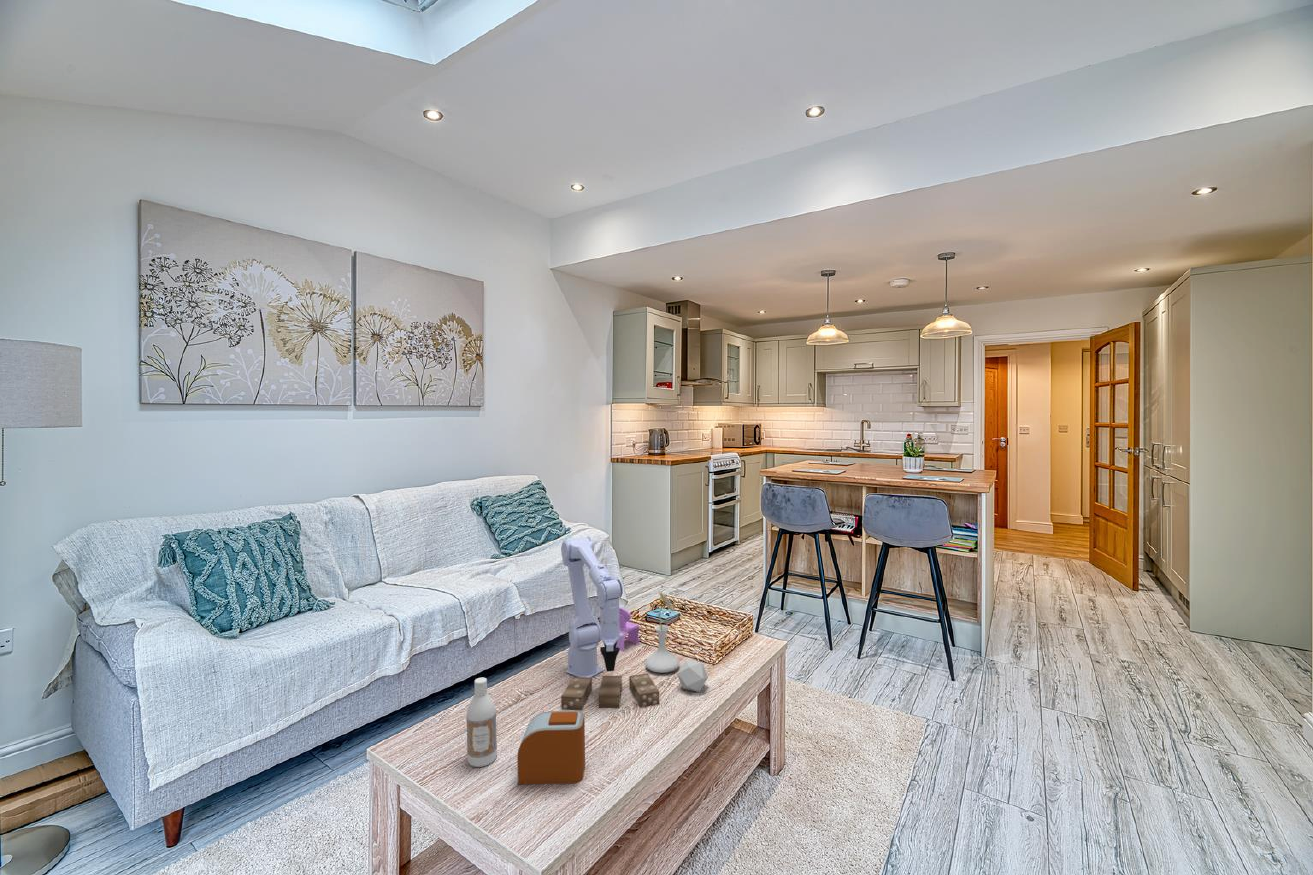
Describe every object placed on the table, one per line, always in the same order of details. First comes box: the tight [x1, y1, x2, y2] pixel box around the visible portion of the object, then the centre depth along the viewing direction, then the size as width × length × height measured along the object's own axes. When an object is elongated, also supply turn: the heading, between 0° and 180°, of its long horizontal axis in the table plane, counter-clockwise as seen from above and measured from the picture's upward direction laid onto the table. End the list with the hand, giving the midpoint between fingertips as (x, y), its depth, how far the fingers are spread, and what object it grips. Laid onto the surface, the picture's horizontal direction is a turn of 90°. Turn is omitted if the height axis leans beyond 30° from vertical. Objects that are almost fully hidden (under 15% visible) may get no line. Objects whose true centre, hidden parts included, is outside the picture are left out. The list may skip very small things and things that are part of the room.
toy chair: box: [616, 606, 640, 653], centre depth 201 cm, size 8×9×15 cm
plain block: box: [598, 675, 623, 709], centre depth 164 cm, size 12×6×4 cm, turn 0°
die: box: [676, 659, 709, 693], centre depth 169 cm, size 8×9×10 cm
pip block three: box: [560, 676, 593, 711], centre depth 164 cm, size 12×6×4 cm, turn 172°
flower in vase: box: [645, 591, 680, 673], centre depth 183 cm, size 13×11×25 cm
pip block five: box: [628, 673, 660, 708], centre depth 165 cm, size 12×6×4 cm, turn 17°
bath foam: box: [466, 676, 498, 768], centre depth 135 cm, size 7×7×20 cm
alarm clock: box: [516, 710, 586, 785], centre depth 130 cm, size 15×8×14 cm, turn 91°
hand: (610, 664), depth 164 cm, fingers open, 7 cm apart
